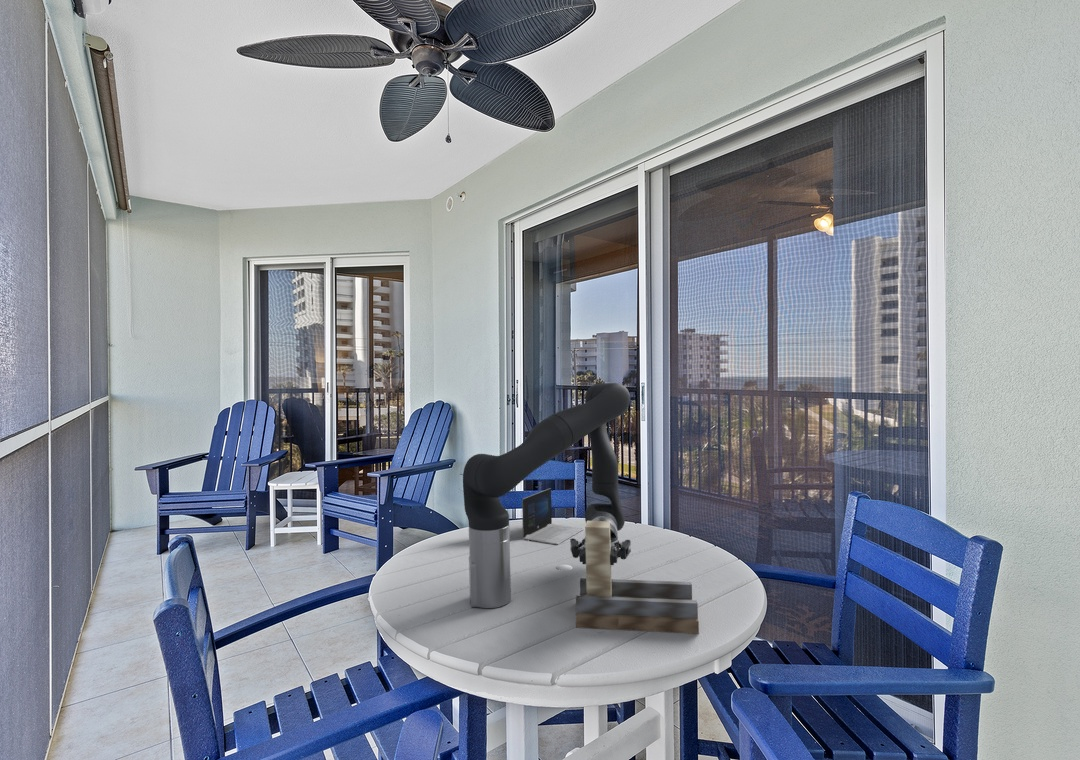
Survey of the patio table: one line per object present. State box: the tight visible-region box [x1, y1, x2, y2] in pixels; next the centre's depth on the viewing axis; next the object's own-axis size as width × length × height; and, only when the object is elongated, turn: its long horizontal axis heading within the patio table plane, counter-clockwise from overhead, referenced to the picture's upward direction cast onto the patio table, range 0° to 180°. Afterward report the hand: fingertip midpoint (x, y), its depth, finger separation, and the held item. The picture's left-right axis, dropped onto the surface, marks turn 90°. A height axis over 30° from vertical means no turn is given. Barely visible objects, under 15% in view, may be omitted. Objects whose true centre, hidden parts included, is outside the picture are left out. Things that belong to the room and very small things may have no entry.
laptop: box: [521, 487, 584, 545], centre depth 173 cm, size 18×12×13 cm
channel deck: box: [575, 577, 700, 635], centre depth 114 cm, size 24×13×6 cm, turn 81°
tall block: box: [584, 521, 612, 597], centre depth 115 cm, size 5×5×16 cm
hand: (598, 560), depth 112 cm, fingers open, 5 cm apart
